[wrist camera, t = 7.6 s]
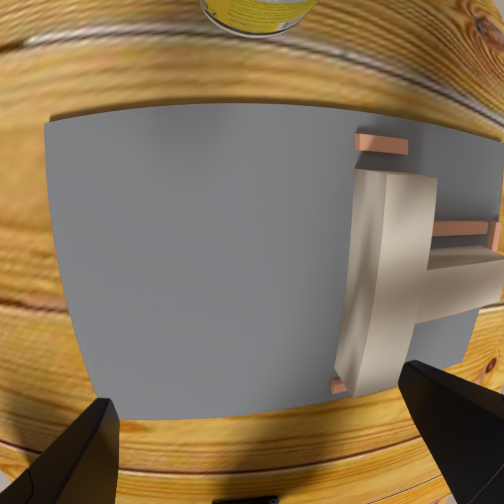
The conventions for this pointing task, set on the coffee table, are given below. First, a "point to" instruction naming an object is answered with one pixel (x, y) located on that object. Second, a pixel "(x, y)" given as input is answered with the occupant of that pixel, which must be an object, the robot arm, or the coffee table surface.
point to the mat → (239, 246)
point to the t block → (401, 277)
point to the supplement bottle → (256, 15)
